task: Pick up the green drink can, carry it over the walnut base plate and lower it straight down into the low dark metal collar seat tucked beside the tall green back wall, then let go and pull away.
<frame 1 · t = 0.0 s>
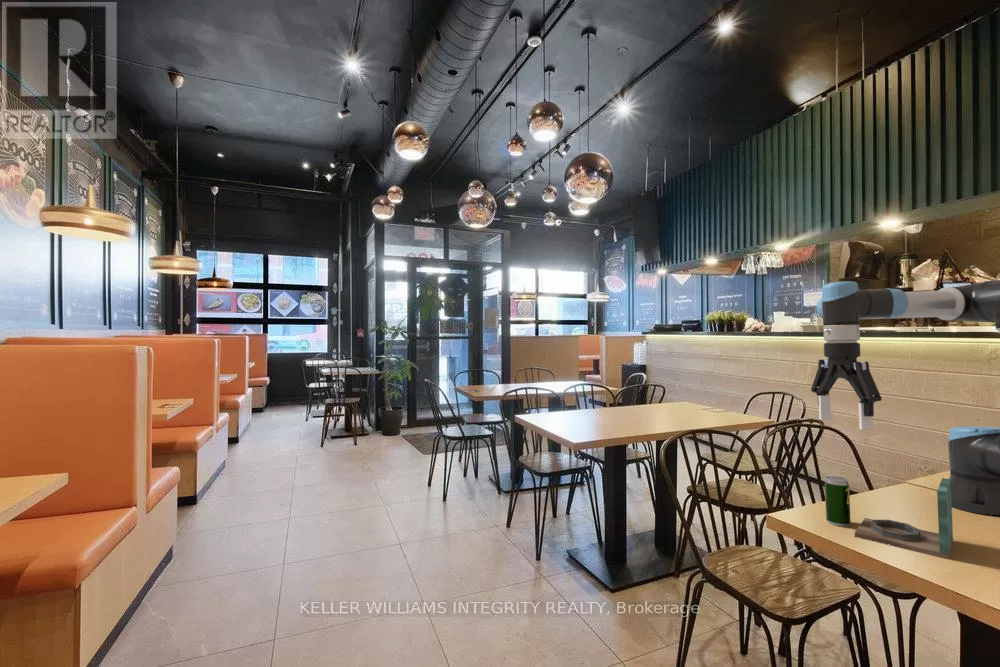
hand: (844, 424, 117), 28 cm above the table, tool pointing down, fingers open, 13 cm apart
seat plate: (895, 536, 114), on the table
green drink can: (838, 523, 123), on the table
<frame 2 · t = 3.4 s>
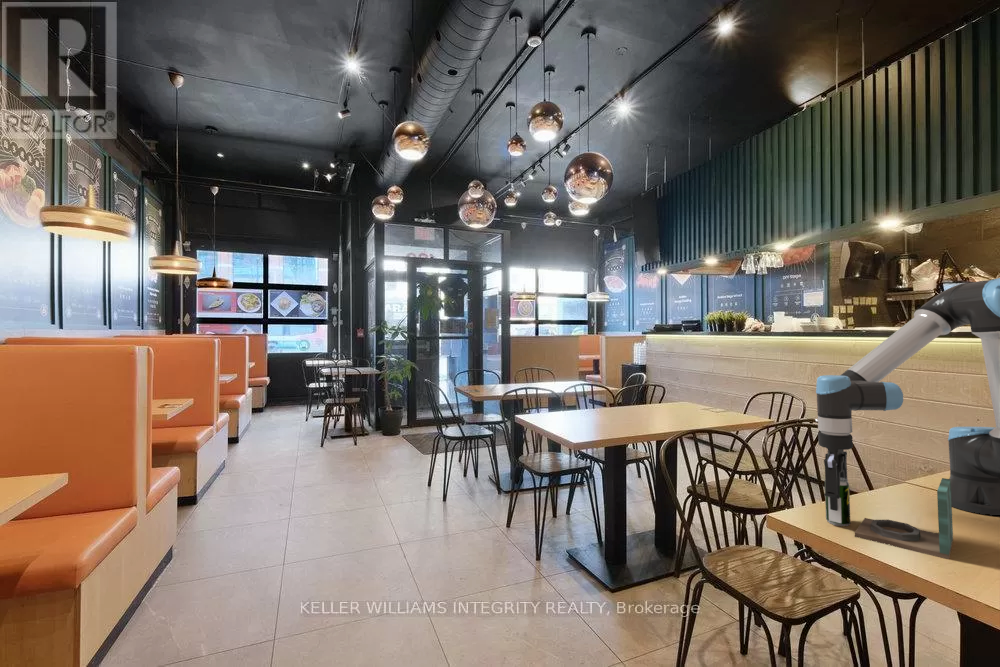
hand: (838, 518, 123), 1 cm above the table, tool pointing down, fingers closed on green drink can, 5 cm apart
green drink can: (838, 523, 123), on the table, touching gripper
when the fingers open (4 cm above the table, at t = 9.9 s): green drink can drops 1 cm, resting on seat plate.
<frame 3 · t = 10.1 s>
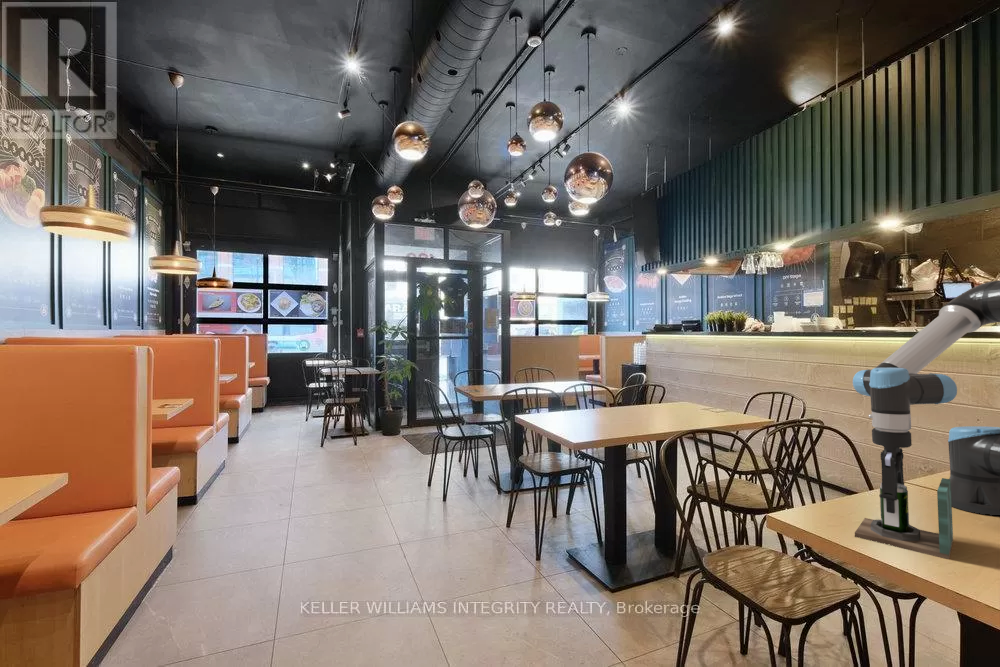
hand: (894, 520, 114), 4 cm above the table, tool pointing down, fingers open, 8 cm apart
green drink can: (895, 533, 114), point 1 cm above the table, touching seat plate
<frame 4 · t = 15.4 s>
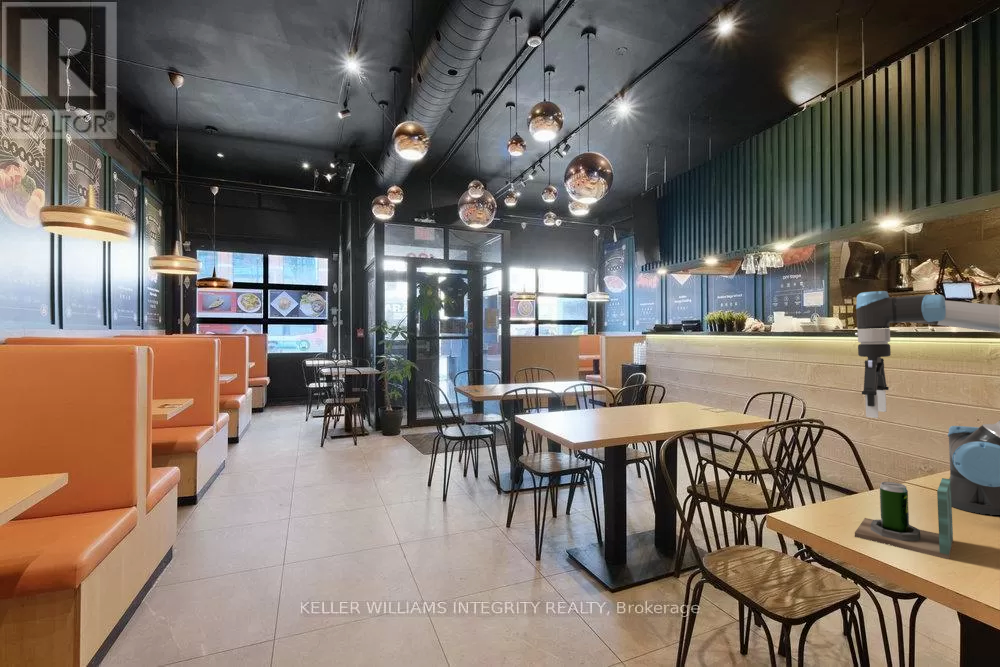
hand: (876, 414, 136), 27 cm above the table, tool pointing down, fingers open, 13 cm apart
nothing on the table moved.
at the end: green drink can 0.0 cm off-centre on the seat plate, point 0.8 cm above the seat plate's base; green drink can tilted 0°; the gripper is holding nothing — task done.
